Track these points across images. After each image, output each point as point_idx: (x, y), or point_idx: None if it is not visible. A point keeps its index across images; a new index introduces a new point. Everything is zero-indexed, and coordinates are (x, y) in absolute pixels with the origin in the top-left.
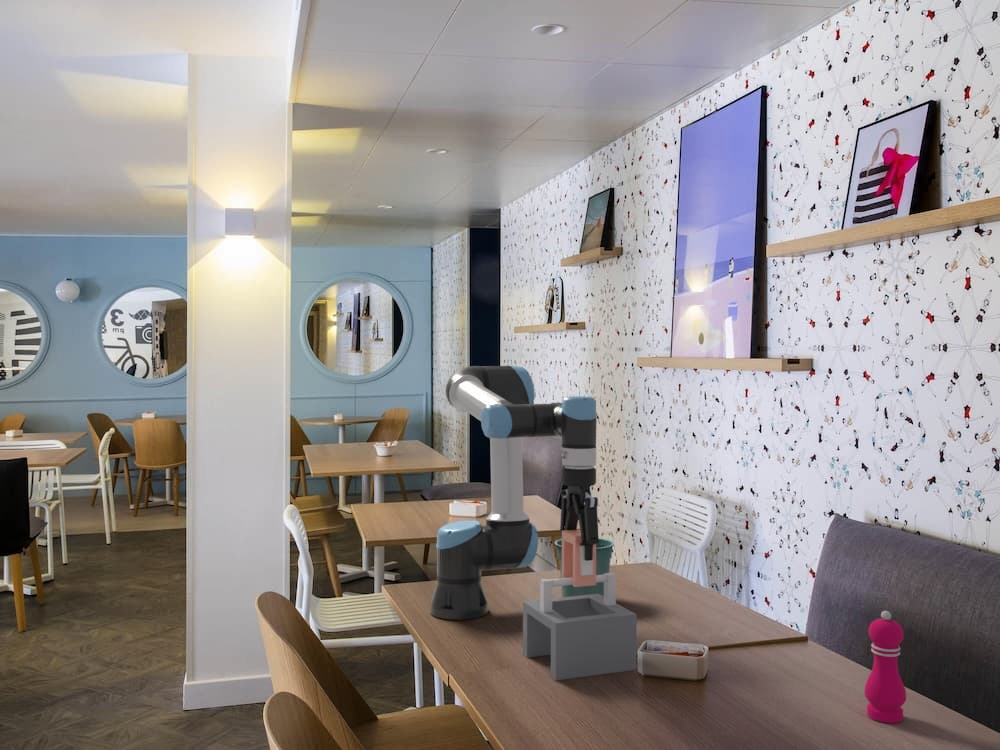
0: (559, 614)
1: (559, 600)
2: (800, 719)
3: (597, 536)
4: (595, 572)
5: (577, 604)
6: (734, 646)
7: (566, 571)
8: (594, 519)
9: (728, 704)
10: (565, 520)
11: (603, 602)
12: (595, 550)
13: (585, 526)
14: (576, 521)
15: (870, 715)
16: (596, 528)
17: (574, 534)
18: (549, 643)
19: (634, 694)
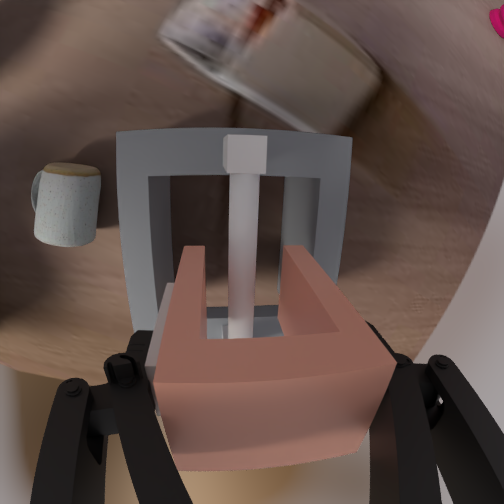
0: (272, 317)
1: (149, 270)
2: (493, 87)
3: (461, 380)
4: (316, 264)
5: (152, 213)
6: None
7: (206, 329)
8: (496, 454)
9: (455, 115)
10: (97, 479)
11: (211, 159)
12: (354, 311)
13: (438, 462)
14: (178, 473)
15: (502, 36)
16: (480, 411)
17: (316, 453)
18: (169, 258)
19: (391, 204)
